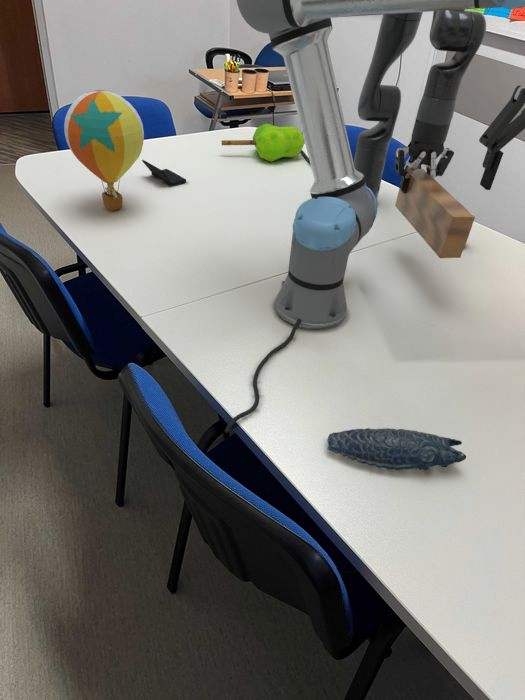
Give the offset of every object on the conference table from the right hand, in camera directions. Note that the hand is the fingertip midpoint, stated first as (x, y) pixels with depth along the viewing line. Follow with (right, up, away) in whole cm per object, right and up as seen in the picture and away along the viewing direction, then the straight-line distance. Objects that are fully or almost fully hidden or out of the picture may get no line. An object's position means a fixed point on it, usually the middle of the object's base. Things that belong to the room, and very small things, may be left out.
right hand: (413, 191), depth 125 cm
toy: (-78, +2, +20) cm, 81 cm away
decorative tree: (-36, +32, +63) cm, 79 cm away
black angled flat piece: (-67, +16, +39) cm, 80 cm away
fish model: (-16, -55, -43) cm, 71 cm away
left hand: (+10, -9, -31) cm, 34 cm away
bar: (+1, -10, -4) cm, 11 cm away
